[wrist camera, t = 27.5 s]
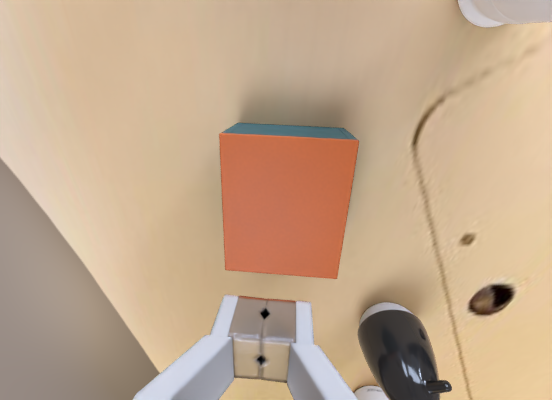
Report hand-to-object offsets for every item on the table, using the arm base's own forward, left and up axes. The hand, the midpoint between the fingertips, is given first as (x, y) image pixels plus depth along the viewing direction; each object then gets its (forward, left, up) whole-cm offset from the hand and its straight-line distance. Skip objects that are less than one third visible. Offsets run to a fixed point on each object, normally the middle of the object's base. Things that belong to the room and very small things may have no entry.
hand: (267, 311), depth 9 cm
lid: (+5, 0, -19) cm, 20 cm away
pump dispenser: (+28, +18, -27) cm, 43 cm away
